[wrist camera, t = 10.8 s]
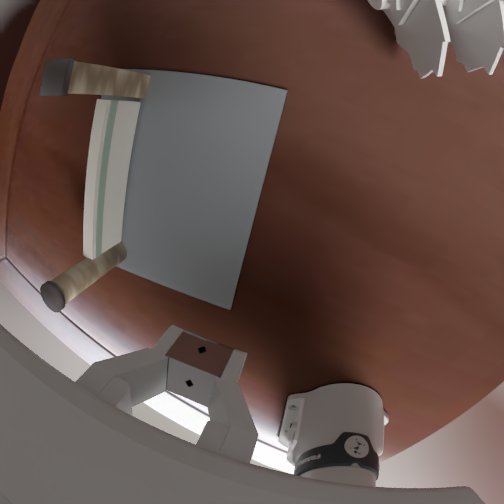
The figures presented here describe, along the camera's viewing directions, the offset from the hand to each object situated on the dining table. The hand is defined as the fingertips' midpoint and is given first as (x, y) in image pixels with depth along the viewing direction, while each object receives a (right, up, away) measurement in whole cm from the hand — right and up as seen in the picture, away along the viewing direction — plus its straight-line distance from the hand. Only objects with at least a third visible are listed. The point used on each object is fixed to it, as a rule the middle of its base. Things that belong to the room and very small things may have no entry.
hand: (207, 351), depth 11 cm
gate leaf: (-15, +14, +24) cm, 32 cm away
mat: (-9, +12, +25) cm, 29 cm away
